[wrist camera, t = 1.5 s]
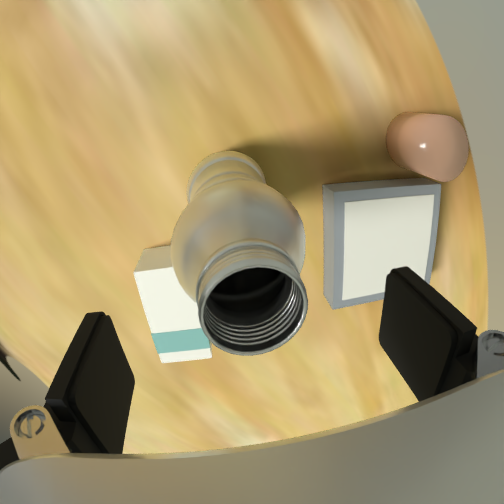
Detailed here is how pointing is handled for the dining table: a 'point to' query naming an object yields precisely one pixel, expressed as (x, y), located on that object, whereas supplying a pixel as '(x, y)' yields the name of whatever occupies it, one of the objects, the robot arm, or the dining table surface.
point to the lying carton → (169, 309)
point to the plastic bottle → (240, 256)
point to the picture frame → (376, 235)
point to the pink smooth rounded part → (428, 144)
